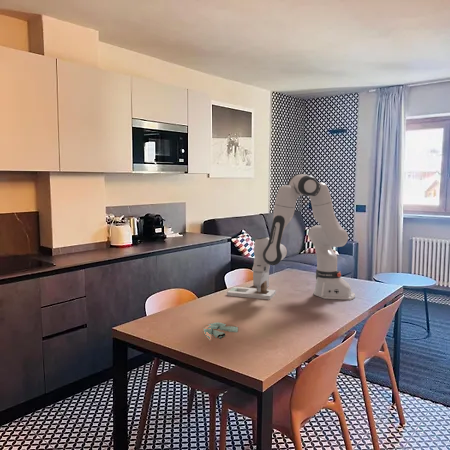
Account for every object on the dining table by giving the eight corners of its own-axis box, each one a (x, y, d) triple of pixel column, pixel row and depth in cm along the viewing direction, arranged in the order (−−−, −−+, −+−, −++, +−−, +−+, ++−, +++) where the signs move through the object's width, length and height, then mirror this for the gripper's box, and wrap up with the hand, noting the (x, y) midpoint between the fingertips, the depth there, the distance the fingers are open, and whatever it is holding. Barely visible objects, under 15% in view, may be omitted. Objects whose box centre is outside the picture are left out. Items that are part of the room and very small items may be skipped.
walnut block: (266, 294, 238) (266, 281, 237) (264, 297, 234) (264, 282, 233) (258, 294, 240) (259, 280, 239) (256, 296, 235) (256, 282, 234)
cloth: (216, 322, 195) (216, 316, 195) (255, 332, 181) (255, 327, 181) (185, 334, 179) (185, 329, 179) (225, 347, 166) (225, 341, 165)
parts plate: (275, 293, 240) (275, 290, 240) (270, 299, 228) (270, 296, 228) (234, 289, 249) (234, 286, 249) (226, 295, 237) (226, 292, 237)
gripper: (261, 261, 245) (261, 285, 247) (251, 268, 226) (251, 293, 228) (271, 262, 243) (271, 286, 245) (262, 269, 224) (262, 294, 226)
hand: (261, 289), depth 236 cm, fingers open, 8 cm apart
